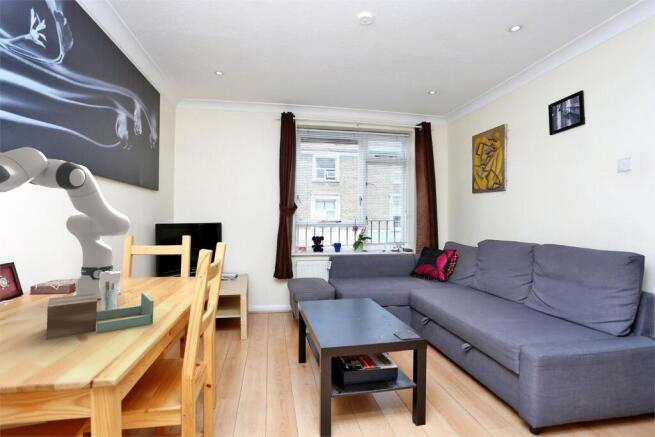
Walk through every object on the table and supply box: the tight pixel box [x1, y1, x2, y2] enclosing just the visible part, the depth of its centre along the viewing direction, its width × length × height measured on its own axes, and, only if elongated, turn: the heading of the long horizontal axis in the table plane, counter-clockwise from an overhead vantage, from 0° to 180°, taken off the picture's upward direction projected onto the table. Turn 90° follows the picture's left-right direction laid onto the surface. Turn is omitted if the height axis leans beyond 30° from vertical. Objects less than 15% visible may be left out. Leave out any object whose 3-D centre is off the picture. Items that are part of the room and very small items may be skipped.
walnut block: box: [46, 294, 98, 341], centre depth 101 cm, size 12×12×10 cm
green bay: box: [96, 291, 154, 334], centre depth 111 cm, size 16×16×8 cm
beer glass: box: [99, 270, 121, 311], centre depth 124 cm, size 7×7×15 cm
